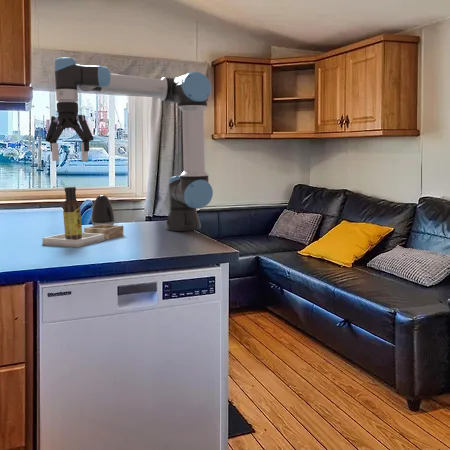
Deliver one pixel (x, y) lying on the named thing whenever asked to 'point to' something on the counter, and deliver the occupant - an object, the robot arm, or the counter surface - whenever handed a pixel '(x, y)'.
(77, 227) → the sauce bottle
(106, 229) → the oak holder
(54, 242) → the grey tray
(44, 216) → the counter surface
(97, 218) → the black bullet shaped dome
